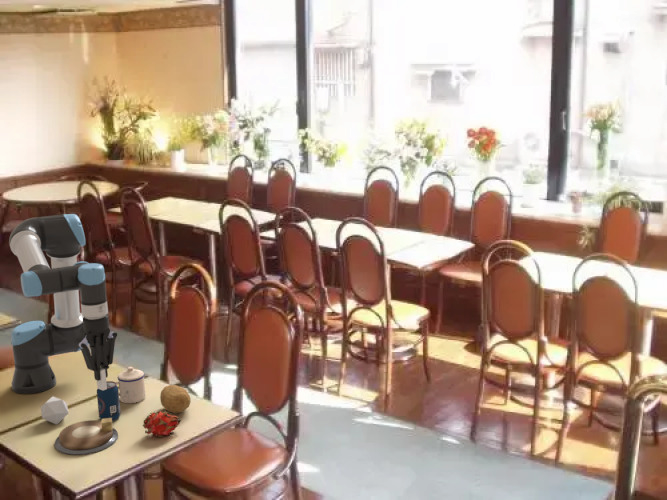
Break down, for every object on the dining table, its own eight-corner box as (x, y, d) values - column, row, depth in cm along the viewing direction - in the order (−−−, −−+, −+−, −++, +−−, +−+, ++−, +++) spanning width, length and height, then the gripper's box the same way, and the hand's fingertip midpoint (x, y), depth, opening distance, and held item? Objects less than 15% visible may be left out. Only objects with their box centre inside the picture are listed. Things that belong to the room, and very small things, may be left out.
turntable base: (42, 443, 252) (42, 441, 252) (94, 421, 266) (94, 419, 266) (78, 461, 240) (78, 459, 240) (130, 437, 255) (130, 435, 255)
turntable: (57, 452, 244) (55, 437, 243) (61, 429, 259) (60, 415, 258) (112, 446, 247) (111, 431, 246) (113, 423, 263) (112, 409, 261)
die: (75, 421, 268) (70, 393, 271) (59, 419, 260) (55, 391, 263) (53, 429, 269) (50, 401, 273) (37, 427, 261) (33, 398, 265)
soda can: (96, 417, 269) (92, 384, 266) (115, 411, 273) (112, 378, 270) (104, 424, 264) (100, 390, 261) (124, 418, 268) (121, 385, 265)
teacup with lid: (141, 391, 289) (139, 360, 286) (149, 400, 281) (147, 369, 279) (108, 398, 283) (105, 367, 280) (115, 408, 276) (112, 376, 273)
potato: (180, 399, 282) (179, 378, 280) (197, 414, 270) (196, 391, 268) (154, 406, 276) (152, 385, 274) (170, 421, 265) (168, 399, 263)
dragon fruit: (140, 441, 255) (178, 439, 260) (145, 436, 248) (184, 434, 253) (140, 414, 258) (177, 413, 263) (144, 408, 251) (182, 407, 256)
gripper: (84, 323, 234) (91, 399, 240) (121, 312, 244) (127, 384, 250) (69, 318, 239) (76, 392, 245) (105, 307, 249) (112, 378, 255)
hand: (102, 388), depth 247 cm, fingers closed
